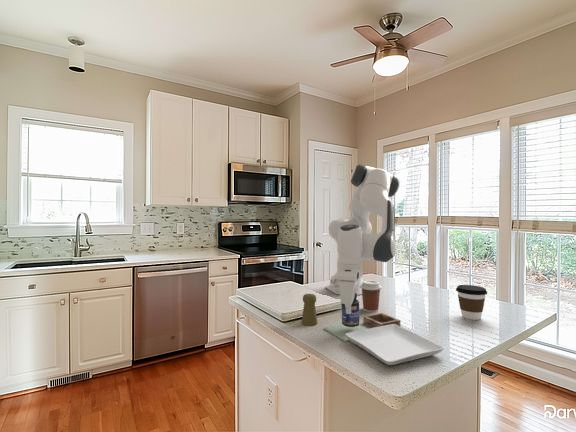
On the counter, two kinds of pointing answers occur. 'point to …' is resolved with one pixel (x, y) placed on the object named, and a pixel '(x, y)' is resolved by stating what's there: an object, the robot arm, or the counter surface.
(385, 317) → the walnut collar
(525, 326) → the counter surface
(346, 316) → the pill bottle
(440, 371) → the counter surface
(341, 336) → the sage mat
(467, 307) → the coffee cup
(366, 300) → the coffee cup
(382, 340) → the salad plate
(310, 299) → the cork
